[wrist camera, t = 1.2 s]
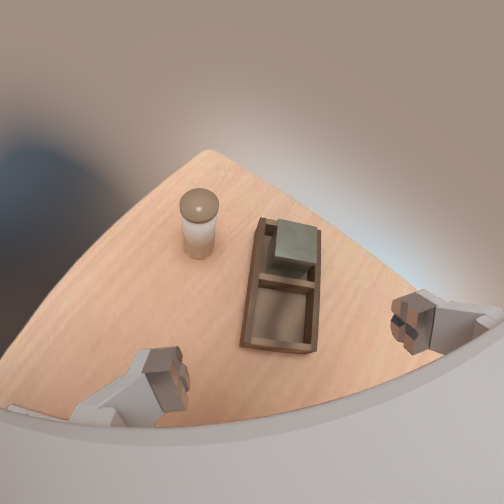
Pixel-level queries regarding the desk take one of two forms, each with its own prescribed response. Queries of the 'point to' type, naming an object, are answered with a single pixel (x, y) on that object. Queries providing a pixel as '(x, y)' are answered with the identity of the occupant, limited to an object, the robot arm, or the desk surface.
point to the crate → (280, 302)
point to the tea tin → (291, 249)
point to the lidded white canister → (199, 222)
